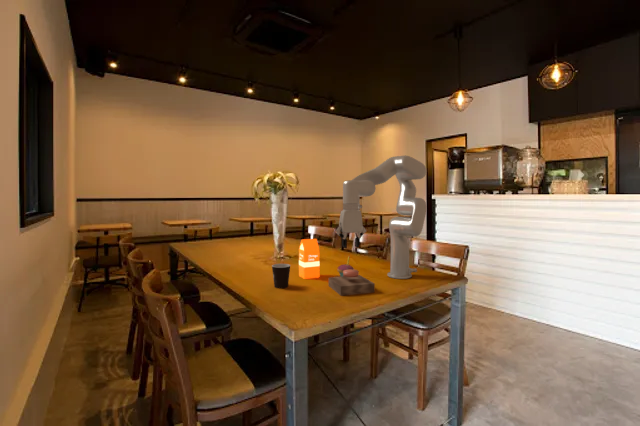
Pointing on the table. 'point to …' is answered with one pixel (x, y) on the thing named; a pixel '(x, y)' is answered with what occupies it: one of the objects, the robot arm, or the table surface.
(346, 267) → the cupcake
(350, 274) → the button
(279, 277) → the coffee mug
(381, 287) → the table surface
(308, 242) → the orange juice
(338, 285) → the brown wooden tray
